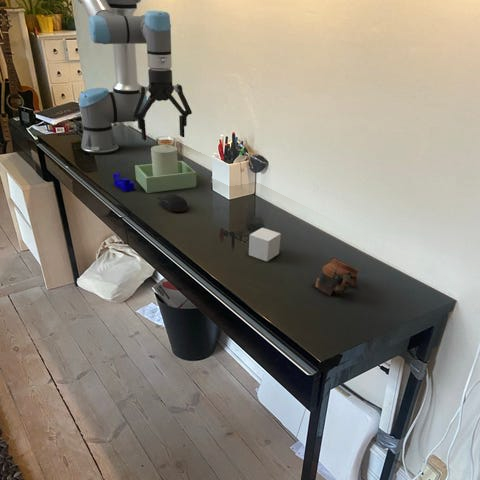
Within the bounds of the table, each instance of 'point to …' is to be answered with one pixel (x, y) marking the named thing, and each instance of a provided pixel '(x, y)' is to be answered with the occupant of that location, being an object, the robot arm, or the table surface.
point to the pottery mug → (339, 284)
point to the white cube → (264, 244)
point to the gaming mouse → (174, 203)
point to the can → (164, 160)
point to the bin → (165, 178)
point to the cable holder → (123, 183)
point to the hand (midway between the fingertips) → (163, 137)
